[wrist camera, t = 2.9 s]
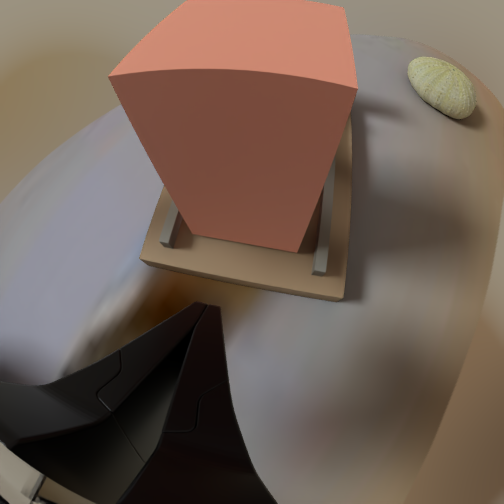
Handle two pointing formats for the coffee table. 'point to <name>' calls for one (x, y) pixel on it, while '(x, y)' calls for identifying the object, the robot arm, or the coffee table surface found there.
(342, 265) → the base
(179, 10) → the salmon pink rectangular block
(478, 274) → the coffee table surface
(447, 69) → the sea urchin shell
